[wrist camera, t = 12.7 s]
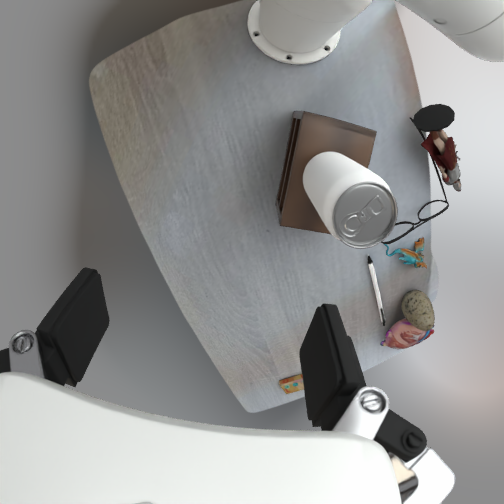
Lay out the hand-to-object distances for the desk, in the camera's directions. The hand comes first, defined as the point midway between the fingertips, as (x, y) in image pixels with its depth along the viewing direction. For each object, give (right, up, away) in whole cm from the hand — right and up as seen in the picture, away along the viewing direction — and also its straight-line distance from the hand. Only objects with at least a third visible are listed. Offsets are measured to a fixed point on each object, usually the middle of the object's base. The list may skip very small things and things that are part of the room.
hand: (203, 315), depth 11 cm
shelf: (+11, +15, +26) cm, 32 cm away
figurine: (+26, +21, +16) cm, 37 cm away
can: (+11, +11, +19) cm, 25 cm away
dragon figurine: (+29, +3, +33) cm, 44 cm away
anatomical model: (+29, -13, +39) cm, 51 cm away
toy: (+14, -27, +48) cm, 57 cm away
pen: (+26, -5, +37) cm, 46 cm away
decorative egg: (+34, -6, +38) cm, 51 cm away
